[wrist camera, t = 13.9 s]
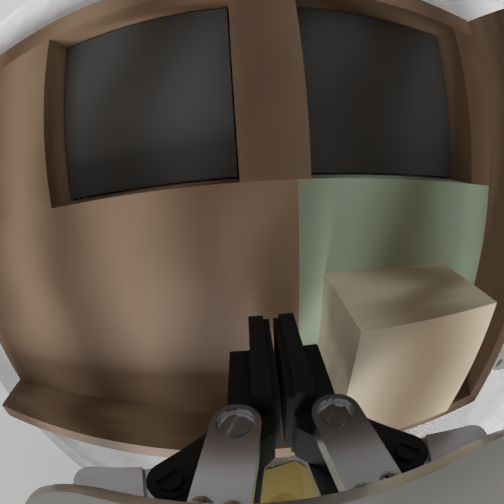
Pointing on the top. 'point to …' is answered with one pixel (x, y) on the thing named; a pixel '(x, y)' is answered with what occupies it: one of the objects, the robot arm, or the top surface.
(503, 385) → the top surface
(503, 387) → the top surface
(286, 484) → the cheese
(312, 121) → the box
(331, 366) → the beech block
